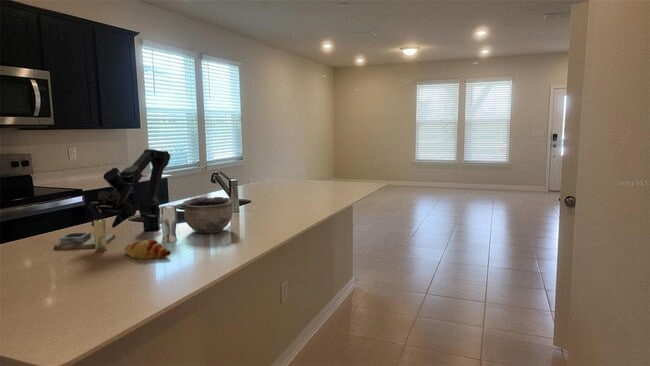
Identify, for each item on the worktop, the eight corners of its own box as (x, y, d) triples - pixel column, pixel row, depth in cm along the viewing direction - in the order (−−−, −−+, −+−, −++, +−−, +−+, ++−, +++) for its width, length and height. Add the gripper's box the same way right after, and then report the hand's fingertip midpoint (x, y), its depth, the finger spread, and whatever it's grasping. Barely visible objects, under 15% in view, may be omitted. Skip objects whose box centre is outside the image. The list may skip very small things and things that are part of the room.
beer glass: (180, 239, 182) (179, 205, 180) (173, 243, 175) (172, 208, 173) (165, 238, 182) (164, 205, 180) (157, 243, 175) (156, 208, 173)
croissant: (120, 264, 159) (111, 248, 155) (136, 245, 167) (128, 231, 162) (166, 268, 153) (157, 253, 148) (180, 249, 160) (173, 234, 156)
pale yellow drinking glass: (108, 248, 167) (106, 219, 165) (104, 251, 163) (102, 221, 161) (97, 248, 166) (95, 219, 165) (94, 251, 162) (91, 221, 161)
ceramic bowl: (239, 227, 204) (238, 197, 202) (224, 238, 183) (223, 205, 181) (195, 225, 206) (194, 196, 204) (175, 237, 185) (174, 204, 183)
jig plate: (115, 237, 184) (114, 228, 184) (102, 247, 168) (101, 237, 168) (71, 238, 181) (70, 229, 181) (53, 249, 165) (53, 239, 165)
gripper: (89, 182, 170) (70, 214, 161) (130, 184, 166) (112, 216, 157) (104, 198, 179) (86, 229, 169) (143, 200, 175) (127, 231, 166)
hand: (102, 226), depth 165 cm, fingers open, 9 cm apart
